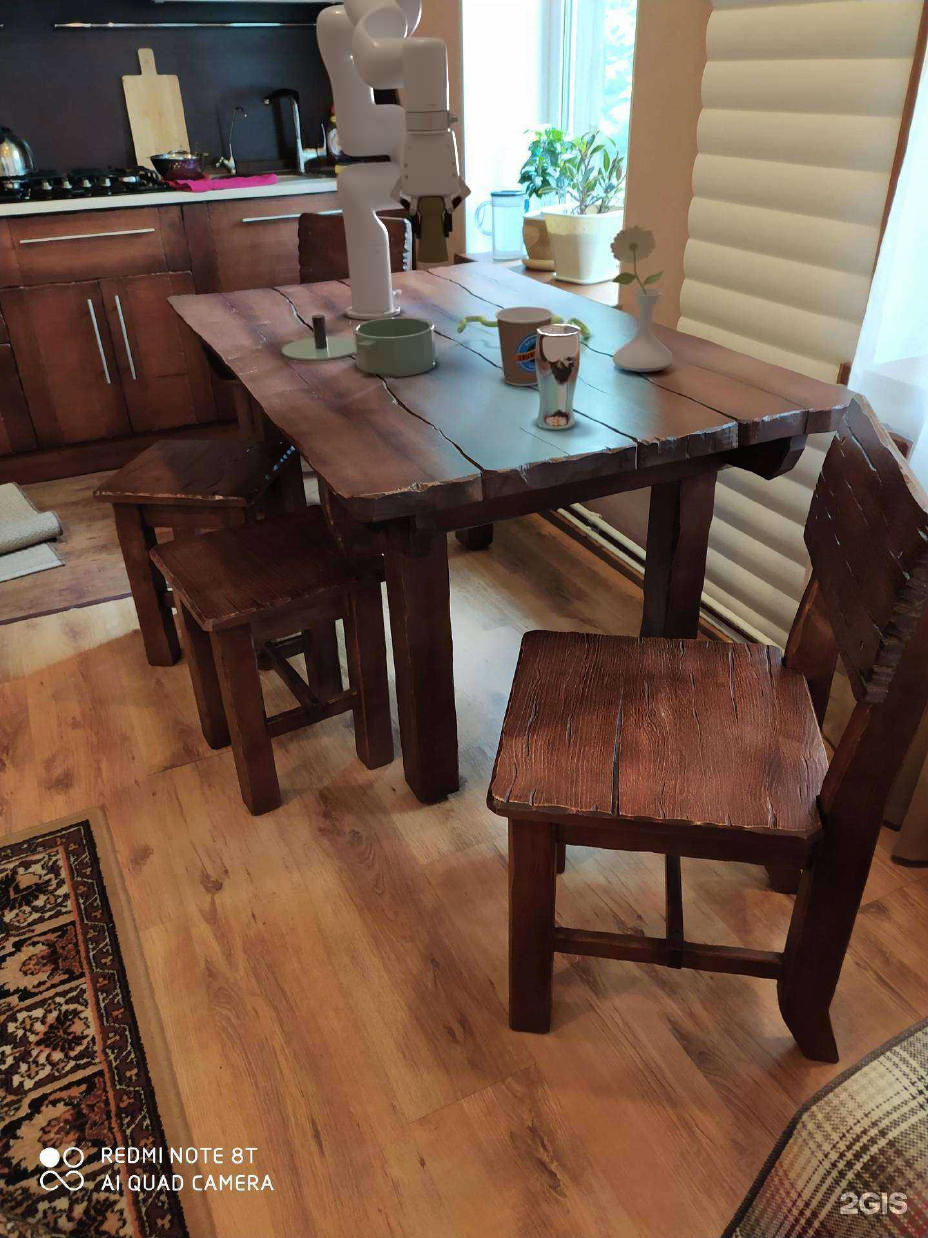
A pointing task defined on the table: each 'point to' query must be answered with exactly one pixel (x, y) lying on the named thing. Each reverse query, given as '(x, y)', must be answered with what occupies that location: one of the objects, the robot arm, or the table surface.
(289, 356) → the lid
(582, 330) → the figurine
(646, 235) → the flower in vase
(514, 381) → the coffee cup
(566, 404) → the beer glass
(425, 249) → the cork
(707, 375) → the table surface
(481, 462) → the table surface
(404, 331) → the pot
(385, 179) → the robot arm
